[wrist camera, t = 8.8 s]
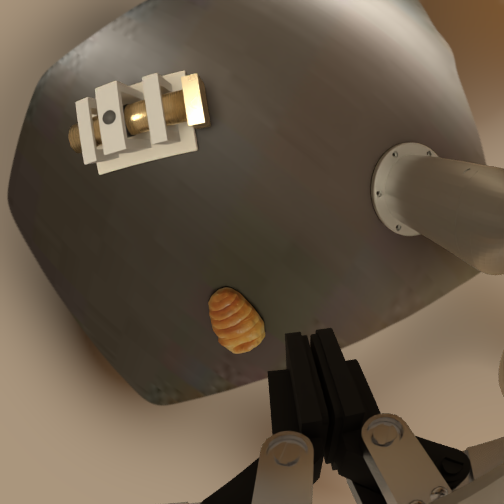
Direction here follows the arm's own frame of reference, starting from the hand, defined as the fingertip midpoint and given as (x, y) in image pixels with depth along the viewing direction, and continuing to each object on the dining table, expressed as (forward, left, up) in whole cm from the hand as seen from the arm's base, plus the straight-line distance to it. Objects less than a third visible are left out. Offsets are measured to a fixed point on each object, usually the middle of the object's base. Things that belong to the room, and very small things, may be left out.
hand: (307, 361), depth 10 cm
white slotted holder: (+13, -13, -27) cm, 33 cm away
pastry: (+6, +15, -27) cm, 31 cm away
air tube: (+12, -13, -25) cm, 31 cm away
